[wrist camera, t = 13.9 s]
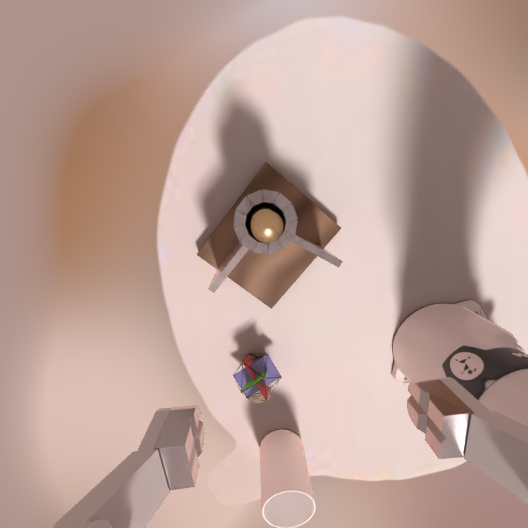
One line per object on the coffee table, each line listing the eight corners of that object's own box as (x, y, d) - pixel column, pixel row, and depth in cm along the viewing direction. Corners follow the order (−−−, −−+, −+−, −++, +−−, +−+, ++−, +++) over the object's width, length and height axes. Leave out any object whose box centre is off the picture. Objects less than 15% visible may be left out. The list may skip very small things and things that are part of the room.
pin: (276, 215, 34) (289, 224, 23) (263, 232, 35) (269, 248, 23) (259, 201, 34) (264, 203, 22) (246, 218, 34) (244, 229, 22)
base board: (337, 226, 37) (341, 227, 35) (270, 304, 39) (271, 308, 38) (265, 163, 34) (266, 162, 32) (198, 252, 36) (196, 254, 35)
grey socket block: (327, 241, 36) (352, 254, 27) (270, 306, 38) (277, 338, 29) (257, 182, 33) (260, 176, 24) (201, 256, 35) (185, 275, 26)
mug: (320, 456, 48) (339, 522, 38) (287, 477, 49) (297, 547, 39) (285, 420, 46) (294, 482, 36) (250, 443, 47) (250, 509, 37)
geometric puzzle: (220, 360, 39) (235, 413, 34) (255, 337, 38) (276, 388, 33) (242, 366, 45) (258, 412, 40) (273, 347, 44) (293, 392, 39)
